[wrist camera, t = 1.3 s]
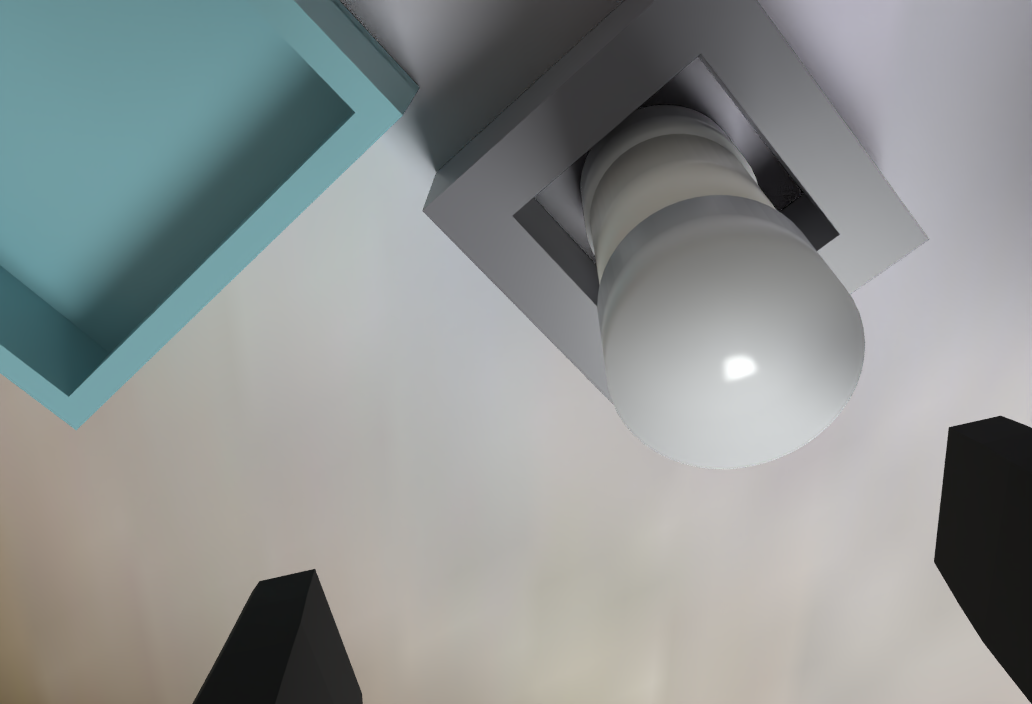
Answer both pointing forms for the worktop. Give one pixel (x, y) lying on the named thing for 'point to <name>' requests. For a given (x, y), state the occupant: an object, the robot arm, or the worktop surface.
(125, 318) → the parts tray
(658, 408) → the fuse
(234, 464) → the worktop surface
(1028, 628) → the robot arm
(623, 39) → the grey square dish
